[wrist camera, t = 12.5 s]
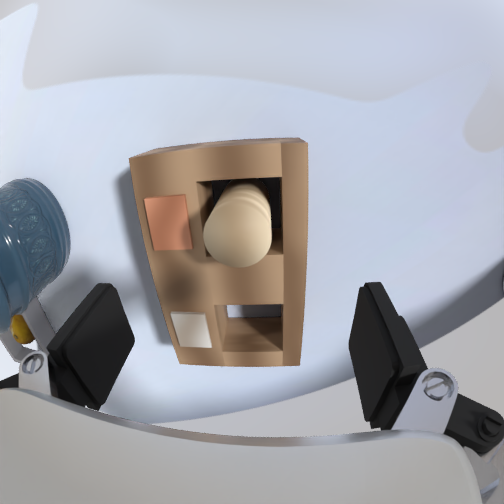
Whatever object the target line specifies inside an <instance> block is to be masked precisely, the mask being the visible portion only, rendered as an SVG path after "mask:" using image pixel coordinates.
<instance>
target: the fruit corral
mask: <svg viewBox="0 0 504 504" xmlns="http://www.w3.org/2000/svg"><path fill="white" fill-rule="evenodd" d="M20 315H22V316H23V318H24V320H25V321H26V323H27V325H28V327H29V329H30V330H31V332H32V334H33V336H34V337H35V339H36V341H37V342H38V344H39V346H40V347H41V349H42V351H43V352H44V353H45V354H46V355H47V356H48V355H49V352H48V350H47V349H46V347H47V345H48V344H49V343H50V341H51V340H52V339H53V337H54V336H55V335H56V334H55V333H54V331H53V329H52V327H51V325H50V323H49V321H48V319H47V317H46V315H45V313H44V311H43V309H42V307H41V305H40V303H39V301H38V299H37V297H35V298H34V299H33V300H32V301H31V302H30V303H29V305H28V308H27V309H26V311H25V312H23V313H22V314H20ZM0 340H1V341H2V343H3V345H4V346H5V348H6V349H7V351H8V352H9V354H10V355H11V357H12V358H13V360H14V361H16V362H18V363H21V361H22V360H23V359H24V357H25V356H27V355H28V354H29V353H31V352H34V351H36V350H32V349H29V348H26V347H23V346H22V344H20V343H18V342H17V341H16V340H15V338H14V337H13V335H12V333H11V331H10V328H9V330H8V331H7V332H6V333H4V334H0Z"/></svg>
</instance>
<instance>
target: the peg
mask: <svg viewBox="0 0 504 504" xmlns="http://www.w3.org/2000/svg"><path fill="white" fill-rule="evenodd" d="M203 239H204V243H205V246H206V248H207V250H208V252H209V253H210V255H211V256H212V257H213V258H214V259H216V260H217V261H218V262H220V263H222V264H224V265H226V266H230V267H237V268H241V267H248V266H251V265H253V264H255V263H257V262H259V261H260V260H261V259H262V258H263V257H264V256H265V255H266V254H267V252H268V250H269V248H270V245H271V239H272V234H271V209H270V194H269V191H268V189H267V187H266V185H265V184H264V183H263V182H262V181H260V180H259V179H257V178H242V179H233V180H232V181H230V182H229V183H228V184H227V186H226V187H225V189H224V191H223V193H222V194H221V196H220V198H219V200H218V202H217V203H216V205H215V207H214V209H213V211H212V213H211V214H210V216H209V218H208V220H207V222H206V224H205V227H204V231H203Z"/></svg>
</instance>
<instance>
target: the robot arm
mask: <svg viewBox="0 0 504 504" xmlns="http://www.w3.org/2000/svg"><path fill="white" fill-rule="evenodd" d="M503 291H504V279H503ZM134 342H135V338H134V335H133V332H132V330H131V327H130V325H129V322H128V319H127V317H126V314H125V312H124V309H123V306H122V303H121V301H120V298H119V295H118V292H117V290H116V288H114V287H113V285H112V284H109V283H98V284H97V285H96V286H95V287H94V288H93V289H92V291H91V292H90V293H89V294H88V295H87V296H86V298H85V299H84V300H83V301H82V302H81V304H80V305H79V306H78V307H77V308H76V310H75V311H74V312H73V313H72V315H71V316H70V317H69V318H68V319H67V321H66V322H65V323H64V325H63V326H62V327H61V328H60V330H59V331H58V332H57V334H56V335H55V336H54V337H53V339H52V340H51V341H50V343H49V344H48V345H47V347H46V349H47V350H48V352H49V355H48V356H47V355H46V354H45V353H44V352H42V351H34V352H31V353H29V354H28V355H27V356H25V357H24V359H23V360H22V361H21V363H20V366H19V373H18V374H16V375H13V376H11V377H9V378H6V379H4V380H1V381H0V504H504V419H503V417H502V416H501V415H500V414H499V413H498V412H496V411H494V410H492V409H490V408H488V407H486V406H484V405H482V404H480V403H477V402H475V401H473V400H471V399H469V398H467V397H465V396H463V395H461V394H458V383H457V381H456V379H455V377H454V376H453V375H452V374H451V373H450V372H448V371H446V370H444V369H441V368H430V369H428V368H427V366H426V363H425V361H424V359H423V357H422V355H421V352H420V350H419V348H418V346H417V344H416V342H415V340H414V338H413V336H412V334H411V332H410V330H409V328H408V326H407V324H406V322H405V320H404V318H403V317H402V316H398V314H397V312H396V310H395V308H394V306H393V304H392V302H391V300H390V298H389V296H388V294H387V292H386V291H385V289H384V287H383V285H382V283H381V282H369V283H365V284H364V287H360V288H359V293H358V299H357V304H356V309H355V314H354V319H353V324H352V329H351V334H350V338H349V351H350V355H351V359H352V364H353V368H354V372H355V376H356V381H357V385H358V390H359V394H360V399H361V404H362V409H363V414H364V418H365V421H366V422H368V421H370V425H371V429H374V428H381V431H373V432H363V433H352V434H343V435H331V436H314V437H278V438H276V437H275V438H274V437H273V438H272V437H271V438H270V437H267V438H266V437H241V436H228V435H216V434H206V433H198V432H190V431H183V430H177V429H171V428H165V427H160V426H154V425H149V424H145V423H140V422H136V421H131V420H127V419H123V418H119V417H115V416H112V415H108V414H104V413H101V412H98V411H99V409H100V407H101V405H103V404H104V403H105V402H106V400H107V397H108V395H109V393H110V391H111V389H112V387H113V385H114V383H115V381H116V379H117V377H118V375H119V373H120V371H121V369H122V367H123V365H124V363H125V361H126V359H127V357H128V355H129V353H130V351H131V349H132V347H133V345H134ZM85 405H86V406H87V407H88V408H90V409H88V408H85ZM91 409H93V410H91ZM94 410H97V411H94Z"/></svg>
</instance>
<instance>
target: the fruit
mask: <svg viewBox="0 0 504 504" xmlns="http://www.w3.org/2000/svg"><path fill="white" fill-rule="evenodd" d="M10 331H11V333H12V335H13V337H14V338H15V340H16V341H17V342H18V343H20V344H28V343H31V342H32V341H33V340H35V337H34V336H33V334H32V332H31V330H30V329H29V327H28V325H27V323H26V321H25V320H24V318H23V316H22V315H20V314H19V315H14V316H13V317H12V318H11V325H10Z"/></svg>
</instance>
